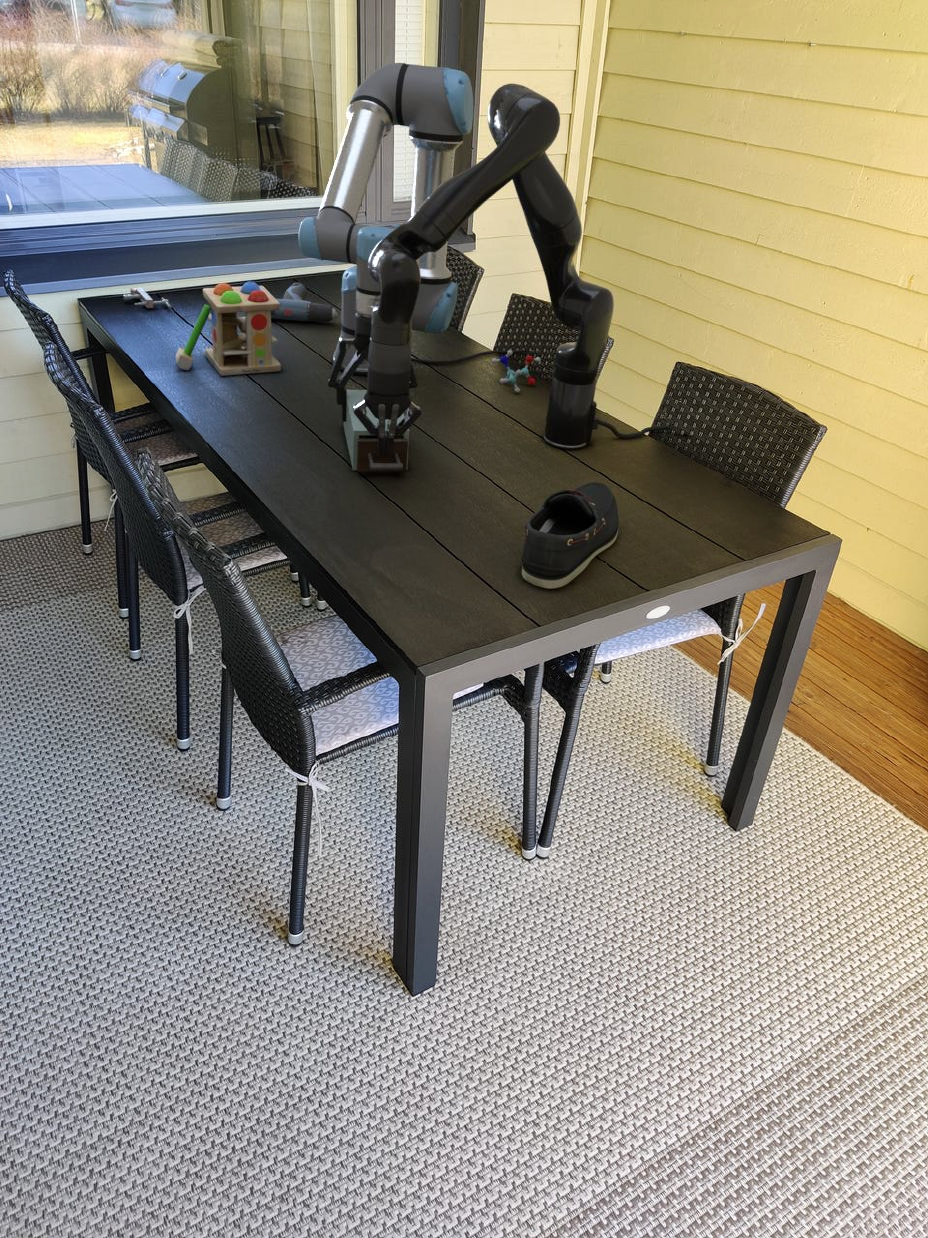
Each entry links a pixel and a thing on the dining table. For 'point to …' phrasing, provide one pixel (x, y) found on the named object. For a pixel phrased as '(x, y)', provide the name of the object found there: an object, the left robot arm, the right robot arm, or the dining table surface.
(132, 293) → the clamp
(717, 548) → the dining table surface
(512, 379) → the molecular model
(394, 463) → the drawer
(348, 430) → the cabinet
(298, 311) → the power drill
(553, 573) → the boat shoe
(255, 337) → the pounding bench toy
